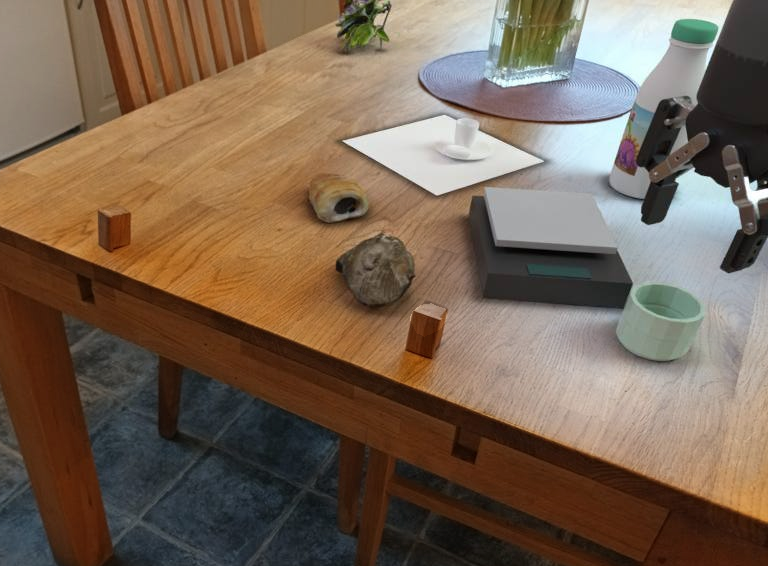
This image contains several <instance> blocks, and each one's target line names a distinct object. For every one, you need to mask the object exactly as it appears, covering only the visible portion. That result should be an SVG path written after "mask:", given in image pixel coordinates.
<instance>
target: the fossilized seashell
mask: <svg viewBox="0 0 768 566" xmlns="http://www.w3.org/2000/svg"><path fill="white" fill-rule="evenodd" d="M415 265H416V264H415V260H414V256H413V255H412V253H411V252H410V251H408V250H407V248H406V246H405V244H404V242H403V241H402V240H401V239H400V238H398V237H397V236H393V235H386V234H385V233H384V232H380V233H377V235H374V236H373V237H369V238H365V239H363V240H362V241H360V242H359V243H358V244H356V245H355V246H353V247H352V248H350V249H349V250H347V251H346V252H344V253H343V254H341V255H340V256H338V258H337V259H336V261H335V271H336V272H338V273H340V274H341V275H342V277H343V280H344V282H345V285H347V289H349V291H350V292H351V293H352V295H353V297H354V299H355V300H356V301H357V302H359V303H360V304H361V305H362V304H363V305H364V306H366V307H371V308H372V307H373V308H374V307H375V308H379V307H384V306H389V305H391V304H393V303H395V302H397V301H399V300H401V299H402V298H403V297H404V295H405V294H406V293H407V292H408V289H410V287H411V285H412V283H413V280H414V278H416V277H417V276H416V272H415Z"/></svg>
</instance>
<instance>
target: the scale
mask: <svg viewBox="0 0 768 566" xmlns="http://www.w3.org/2000/svg"><path fill="white" fill-rule="evenodd" d="M467 220H468V226H469V232H470V236H471V237H470V238H471V242H472V249H473V252H474V259H475V265H476V269H477V275H478V281H479V286H480V290H481V297H482V298H483V299H492V300H507V301H521V302H534V303H535V302H536V303H547V304H561V305H574V306H586V307H588V306H589V307H600V308H614V309H624V308H625V305H626V302H627V300H628V297H629V294H630V292H631V289H632V288H633V285H634V282H633V280H632V278H631V276H630V274H629V272H628V270H627V267H626V266H625V263H624V261H623V258H622V257H621V255H620V253H619V251H618V245H617V243H616V240H615V239H614V237H613V234H612V232H611V231H610V229H609V227H608V225H607V223H606V220H605V218H604V216H603V214H602V212H601V210H600V208H599V207H598V204H597V202H596V200H595V198H594V196H593V194H592V193H586V192H585V193H584V192H568V191H553V190H538V189H536V190H535V189H524V188H523V189H522V188H508V187H507V188H505V187H489V186H485V187H484V188H483V195H472V196H471V201H470V206H469V210H468V215H467Z"/></svg>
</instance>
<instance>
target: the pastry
mask: <svg viewBox="0 0 768 566" xmlns="http://www.w3.org/2000/svg"><path fill="white" fill-rule="evenodd" d="M308 193H309V196H308V198H309V201H310V204H311V205H312V206H313V209H314V212H315V213H316V216H317V218H318V219H319V220H321V221H323V222H324V223H328V224H329V223H335V222H336V223H337V222H341V221H345V220H347V219H355V218H359V217H361V216H362V217H363V215H364V214H366V213H367V212H368V210H369V208H370V202H369V199H368V196H367V194H366V192H365V190H364V189H363V187H361V186H360V185H359V184H358V182H357V181H356V180H353V179H348V177H346V176H344V175H342V174H337V173H326V172H321V173H319V174H316V175H315V176H314V177H312V178H311V180H310V182H309V187H308Z"/></svg>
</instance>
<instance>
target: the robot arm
mask: <svg viewBox="0 0 768 566" xmlns="http://www.w3.org/2000/svg"><path fill="white" fill-rule="evenodd" d="M726 14H727V15H726V17H725V19H724V22H723V25H722V27H721V30H720V32H719V35H718V38H717V40H716V43H715V45H714V48H713V50H712V53H711V56H710V58H709V61H708V64H707V65H706V71H705V74H704V76H703V79H702V81H701V84H700V87H699V89H698V92H697V95H696V99H697V102H698V104H697V105H696V106H694V105H692V100H691V98H690V97H689V96H679V97H673V98H669V99H663V100H661V101H660V102H659V104H658V106H657V109H656V111H655V114H654V116H653V118H652V121H651V123H650V126H649V128H648V131H647V133H646V135H645V138H644V140H643V143H642V145H641V148H640V150H639V153H638V155H637V157H636V164H637V165H638V166H639V167H644V168H645V169H646V170H647V171H648V172H649V179H650V181H651V182H650V185H649V187H648V190H647V193H646V195H645V198H644V199H643V201H642V203H641V206H640V214H641V217H640V222H642V223H643V224H645V225H647V226H652V225H656V224H660V223H662V222H664V220H665V219H666V217H667V214H668V212H669V210H670V207H671V205H672V202H673V200H674V198H675V195H676V192H677V190H678V187H679V186H680V183H679V182H678V181H676V182H675V179H676V178H677V179H678V178H680V177H681V176H683V175H685V174H686V173H688V172H690V171H691V170H693V169H694V171H693V172H694V173H695V174H697V175H699V176H702V177H706V178H711V179H712V181H714V182H715V183H716V184H717V185H719V186H720V187H723V188H725V189H727V188H729V190H730V196H731V201H732V204H733V205H734V206H735V207H737V208H738V214H739V220H740V225H741V228H740V229H737V230H736V232H735V235H734V236H733V239H732V240H731V243H730V245H729V246H728V248H727V251H726V252H725V255H724V257H723V259H722V261H721V263H720V266H719V270H721V271H723V272H724V273H726V274H733V273H736V272H740V271H743V270H744V269H747V268H750V267H752V266H753V265H754V264H755V263H756V261H757V260H758V257H759V256H760V252H761V251H762V249H763V247H764V246H765V244H766V241H767V239H768V0H732V2H731V4H730V6H729V9H728V11H727V13H726ZM683 126H686V132H687V139H688V143H686V144H685V145H683V146H682V147H681V148H679V149H678V150H676V151H675V152H673V153H672V154H670V152H671V150H672V148H673V146H674V143H675V141H676V139H677V137H678V134H679V132H680V130H681V128H682V127H683ZM754 182H756V186H757V187H756V189H755V190H753V189H752V188H751V184H753V183H754Z"/></svg>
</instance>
